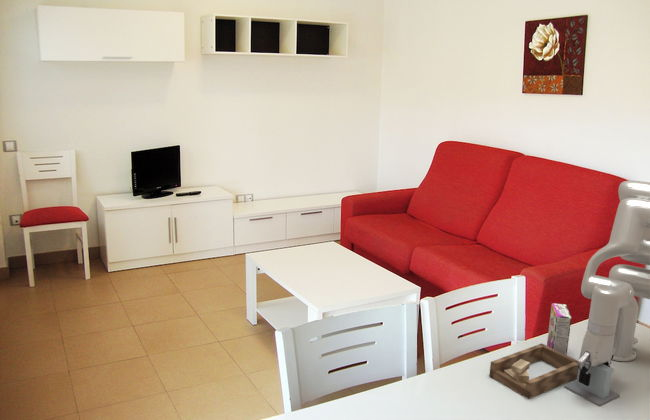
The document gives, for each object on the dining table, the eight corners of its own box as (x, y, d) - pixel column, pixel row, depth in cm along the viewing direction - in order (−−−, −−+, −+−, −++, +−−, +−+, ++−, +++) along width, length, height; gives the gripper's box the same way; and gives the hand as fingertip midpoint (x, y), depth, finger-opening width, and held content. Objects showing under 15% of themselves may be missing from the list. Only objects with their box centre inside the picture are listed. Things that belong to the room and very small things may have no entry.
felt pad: (583, 378, 195) (584, 377, 195) (619, 396, 185) (619, 395, 185) (564, 387, 190) (564, 385, 189) (599, 406, 180) (599, 404, 180)
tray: (539, 356, 208) (541, 343, 207) (579, 377, 196) (581, 362, 195) (489, 376, 195) (490, 361, 194) (528, 399, 183) (530, 383, 181)
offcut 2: (522, 370, 195) (523, 363, 194) (528, 383, 187) (529, 376, 186) (512, 369, 195) (513, 362, 194) (518, 382, 187) (519, 375, 187)
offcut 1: (529, 368, 191) (529, 362, 191) (520, 375, 187) (520, 369, 186) (520, 364, 193) (520, 358, 193) (510, 371, 189) (511, 365, 188)
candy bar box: (545, 346, 216) (551, 302, 212) (560, 347, 215) (566, 304, 211) (550, 361, 205) (556, 315, 201) (566, 363, 204) (572, 317, 200)
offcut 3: (511, 375, 196) (511, 368, 196) (531, 391, 187) (532, 384, 187) (503, 377, 195) (503, 370, 195) (523, 393, 186) (523, 386, 186)
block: (581, 382, 192) (585, 355, 189) (608, 395, 185) (613, 368, 182) (575, 384, 190) (579, 358, 188) (602, 398, 183) (607, 371, 181)
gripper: (607, 316, 190) (599, 366, 194) (572, 328, 180) (564, 381, 185) (630, 325, 184) (621, 377, 188) (595, 338, 174) (587, 393, 179)
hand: (593, 379), depth 186 cm, fingers open, 9 cm apart
